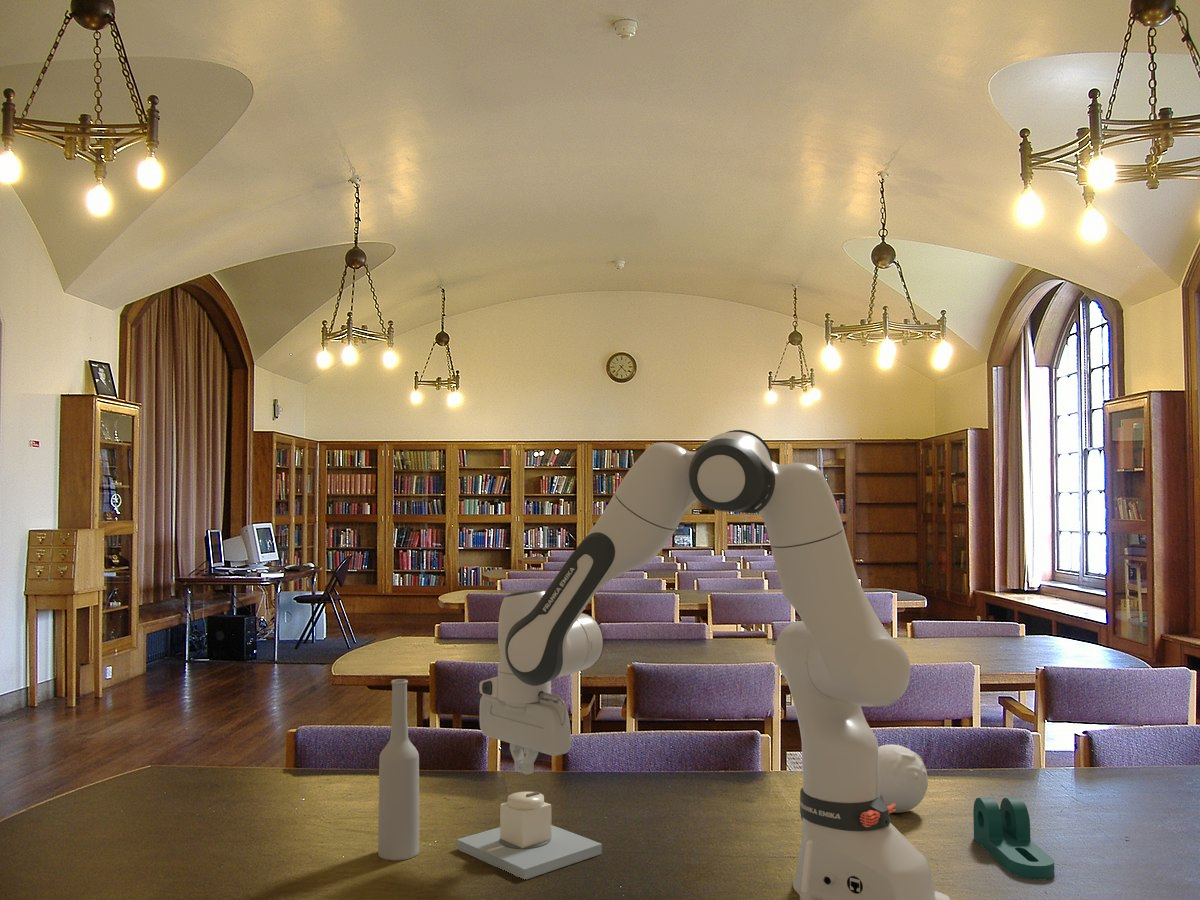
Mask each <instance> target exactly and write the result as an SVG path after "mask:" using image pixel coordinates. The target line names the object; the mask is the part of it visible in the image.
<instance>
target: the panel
mask: <svg viewBox="0 0 1200 900" xmlns="http://www.w3.org/2000/svg"><path fill="white" fill-rule="evenodd" d="M456 850H458V851H460V852H463V853H465V854H467V855H468V856H470V857H474V858H476V859H477V860H480V861H482V862H484V863H486V864H489V865H491V866H493V867H496V868H497V867H498V868H497V869H499V868H500V869H499V870H501V869H502V871H504V870H505V871H504V872H506V871H507V872H506V873H508V872H509V874H510V873H511V874H510V875H512V874H513V876H515V877H516V878H519V877H520V878H519V879H521V878H522V880H523V879H524V880H523V881H526V880H529V879H532V878H535V877H538V876H540V875H544V874H547V873H549V872H553V871H556V870H558V869H562V868H565V867H568V866H571V865H573V864H576V863H579V862H582V861H585V860H588V859H591V858H593V857H597V856H600V855H602V854H603V844H602V843H601V842H597V841H595V840H594V839H593V840H592V839H590V838H588V837H585V836H583V835H582V836H581V835H580V834H576V833H575V832H572V831H569V830H566V829H563V828H561V827H558V826H557V825H556V826H555V825H553V824H551V839H550V840H547V841H544V842H541V843H537V844H534V845H531V846H528V847H524V848H521V847H519V846H517V845H514V844H512V843H510V842H507V841H505V840H502V839H500V826H498V827H496V828H492V829H488V830H485V831H482V832H481V831H480V832H479V833H475V834H471V835H468V836H464V837H460V838H457V839H456ZM525 879H526V880H525Z"/></svg>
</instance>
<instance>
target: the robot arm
mask: <svg viewBox="0 0 1200 900" xmlns="http://www.w3.org/2000/svg"><path fill="white" fill-rule="evenodd" d="M623 477H624V478H623V479H621V482H620V483H619V485H618V487H617V488H616V490H615V492H614V494H613V495H612V497H611V499H610V500H609V502H608V504H607V506H606V507H605V509H604V510H603V511H602V513H601V514H600V516H599V518H598V519H597V520H596V522H595V524H594V525H593V526H592V528H591V529H590V530H589V532H588V533H587V534H586V536H585V537H584V538H583V540H581V542H580V543H579V545H577V547H576V548H575V550H573V552H572V553H571V555H570V556H569V557H568V559H567V560H566V562H565V563H564V565H563V566H562V567H561V569H560V570H559V572H558V573H557V575H556V576H555V578H554V579H553V580H552V582H551V583H550V585H549V587H547V589H546V590H545V589H539V588H536V589H531V590H530V589H529V590H525V591H524V590H523V591H517V592H513V593H510V594H508V595H506V596H505V597H504V598H503V600H502V602H501V606H500V609H499V616H498V625H497V626H498V628H497V632H498V633H497V643H498V645H497V646H498V648H499V653H500V658H499V663H498V666H497V676H494V677H491V678H488V679H483V680H481V681H480V682H479V685H478V687H479V688H478V689H479V693H480V694H481V695H482V696H481V697H480V699H479V717H478V719H479V728H480V731H481V733H482V735H483V736H484V737H487V738H488V737H489V738H492V739H496V740H499V741H501V742H502V741H503V742H505V743H509V751H510V753H511V757H512V759H513V761H514V763H513V764H514V765H513V766H514V767H513V768H514V771H515V772H517V773H522V774H524V775H527V776H528V775H531V774H533V773H534V771H535V770H534V769H535V768H534V767H535V765H534V763H535V762H536V760H537V758H538V755H539V753H541V754H545V755H549V756H553V757H556V756H561V755H565V754H567V753H569V751H570V749H571V747H572V733H571V723H570V718H569V717H570V716H569V712H568V708H567V704H566V703H565V701H564V700H563V699H562V697H561V696H560V695H558V694H552V681H553V680H555V679H558V678H561V677H564V676H569V675H571V674H572V675H573V674H575V673H579V672H581V671H585V670H587V669H589V668H591V667H593V666H594V665H595V664H597V662H598V661H599V660H600V659H601V656H602V654H603V651H604V644H605V643H604V642H605V641H604V635H603V634H604V633H603V632H602V629H601V627H600V625H599V623H598V622H597V620H596V619H595V618H594V617H592V616H591V615H590V614H587V613H586V612H585V613H584V612H583V611H584V610H585V609H586V607H587V606H588V604H589V603H590V602H591V600H592V598H593V597H594V595H596V593H597V592H598V591H599V590H600V589H601V588H602V587H603V586H605V585H606V584H608V583H609V582H611V581H612V580H614V579H615V578H617V577H619V576H621V575H622V574H625V573H627V572H629V571H631V570H634V569H637V568H639V567H641V566H644V565H645V564H648V563H649V562H652V561H653V560H654V559H655V558H656V557H657V556H658V555H659V553H661V551H662V550H663V549H664V548H665V547H666V546H667V544H668V543H669V541H670V539H672V537H673V535H674V534H675V532H676V530H677V529H678V527H679V525H680V523H681V521H682V520H683V518H684V517H685V514H686V513H687V512H688V510H689V509H690V508H691V506H692V505H693V504H694V503H695V502H697V501H699V502H700V503H701V504H702V505H704V506H706V507H707V508H709V509H712V510H714V511H718V512H726V513H727V512H728V513H743V514H751V515H752V514H753V515H755V514H758V513H759V515H760V516H761V518H762V521H763V523H764V526H765V529H766V533H767V536H768V541H769V544H770V549H771V553H772V556H773V561H774V565H775V568H776V573H777V576H778V581H779V584H780V588H781V591H782V594H783V595H784V597H785V599H786V601H788V603H789V604H790V605H791V607H793V609H794V610H795V611H796V613H797V614H798V616H799V618H800V619H801V620H797V621H795V622H792V623H790V624H788V625H787V626H785V627H784V628H783V629H782V630H781V632H780V633H779V635H778V636H777V639H776V642H775V647H774V658H775V662H776V665H777V667H778V668H779V671H780V672H781V673H782V675H783V677H784V678H785V681H786V683H787V685H788V687H789V691H790V694H791V698H792V701H793V703H792V704H793V706H794V709H795V714H796V718H797V722H798V727H799V731H800V732H799V733H800V739H801V759H802V760H801V761H802V765H801V766H802V787H801V788H800V791H799V814H800V819H801V822H802V823H801V838H800V848H799V854H798V855H799V856H798V861H797V865H796V871H795V874H794V878H793V881H792V888H793V889H794V891H795V893H797V894H798V895H799V900H951V898H950V896H948V895H947V894H945V893H942V892H941V891H937V890H935V883H934V877H933V871H932V869H931V868H932V867H931V865H930V863H929V861H928V858H927V857H926V856H925V855H923V854H922V853H921V852H920V851H919V850H918V848H916V847H915V846H914V845H913V844H912V843H911V842H910V841H909V840H908V839H907V838H906V837H905V836H904V835H903V834H902V833H901V832H900V831H899V830H898V829H897V828H896V827H895V825H893V824H892V823H891V817H890V816H891V815H890V814H892V813H893V812H894V811H896V809H894V810H892V808H894V807H895V806H896V804H895V803H894V804H891V805H889V806H886V804H885V802H884V800H883V797H882V795H881V794H880V792H879V754H878V747H879V743H878V739H877V737H876V734H875V733H874V731H873V729H872V728H871V727H870V725H869V723H868V722H867V720H866V717H865V714H864V712H863V708H862V707H871V708H873V707H886V706H890V705H892V704H894V703H896V702H897V701H898V700H899V699H900V698H902V697H903V695H904V694H905V692H906V690H907V688H908V686H909V683H910V679H911V663H910V659H909V656H908V654H907V652H906V651H905V650H904V648H903V647H902V646H901V644H899V643H898V642H897V641H896V640H895V639H894V638H893V636H891V635H890V634H889V632H888V631H887V629H886V628H885V626H884V625H883V623H882V622H881V620H880V619H879V616H878V615H877V614H876V612H875V610H874V607H872V604H871V603H870V601H869V599H868V597H867V595H866V594H865V591H864V590H863V587H862V585H861V583H860V580H859V578H858V577H859V576H858V575H857V574H858V573H857V572H856V569H855V565H854V561H853V557H852V554H851V550H850V546H849V543H848V539H847V536H846V531H845V528H844V523H843V520H842V517H841V514H840V511H839V508H838V503H837V502H836V500H835V496H834V494H833V493H832V489H831V487H830V485H829V483H828V481H827V479H826V477H825V475H824V473H823V472H822V471H821V470H820V468H819V467H817V466H815V465H813V464H810V463H805V462H791V463H790V462H789V463H786V464H780V463H779V464H778V463H777V462H775V461H774V459H773V455H772V452H771V450H770V447H769V445H768V443H766V442H765V440H764V439H762V438H761V437H760V436H759V435H757V434H755V433H753V432H751V431H748V430H745V429H734V430H728V431H726V432H725V431H724V432H722V433H719V434H716V435H714V436H712V437H711V438H710V439H708V440H707V441H706V442H704V443H703V444H701V445H700V446H698V447H697V448H696V449H695V451H692V450H691V451H690V450H687V449H686V448H683V446H680V445H677V444H675V443H670V442H666V441H665V442H664V441H663V442H655V443H653V444H652V445H649V446H647V448H646V449H645V450H644V452H643V453H642V454H641V455H639V457H638V459H636V461H635V462H634V463H633V465H632V466H631V467H630V468H629V470H628V471H627V472H626V474H625V476H623Z"/></svg>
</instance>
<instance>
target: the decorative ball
mask: <svg viewBox="0 0 1200 900" xmlns="http://www.w3.org/2000/svg"><path fill="white" fill-rule="evenodd" d="M878 754H879V792H880V794H881V795H882V797H883V800H884V802H885V804H886V806H889V805H891V804H894V803H895V804H896V806H895V807H894V808H892V810H894V809H896V811H894V812H892V813H893V814H894V813H896V814H899V813H906V812H909V811H911V810H913V809H914V808H915V807H917V806H918V805H919V804H920V803H921V802H922V801H923V800H924V798H925V795H926V793H927V789H928V784H929V782H928V774H927V773H928V772H927V767H926V765H925V763H924V761H923V759H922V757H921V756H920V755H919V754H918V753H916V752H914V751H913V750H911V749H909V748H907V747H906V746H903V745H899V744H892V743H891V744H884V745H880V746H878Z"/></svg>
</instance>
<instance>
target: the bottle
mask: <svg viewBox="0 0 1200 900" xmlns="http://www.w3.org/2000/svg"><path fill="white" fill-rule="evenodd" d="M408 683H409V681H408V679H404V678H397V679H391V681H390V684H391V689H392V691H391V725H390V737H389V738H390V739H389V740H388V742H387V743H386V745H385V746H384V748H382V750H381V751H380V753H379V758H378V759H379V761H378V762H379V763H378V765H379V767H378V819H377V820H378V821H377V824H378V826H377V832H378V833H377V836H378V837H377V843H378V844H377V849H378V850H377V855H378V857H379V858H380V859H381V860H384V861H393V862H394V861H396V862H397V861H404V860H405V861H406V860H410V859H413V858H414V857H415V858H416V856H418V855H419V854H420V753H419V751H418V750H417V748H416V746H414V744H413V743H412V741H411V740H410V738H409V730H408V729H409V726H408V725H409V724H408Z"/></svg>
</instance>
